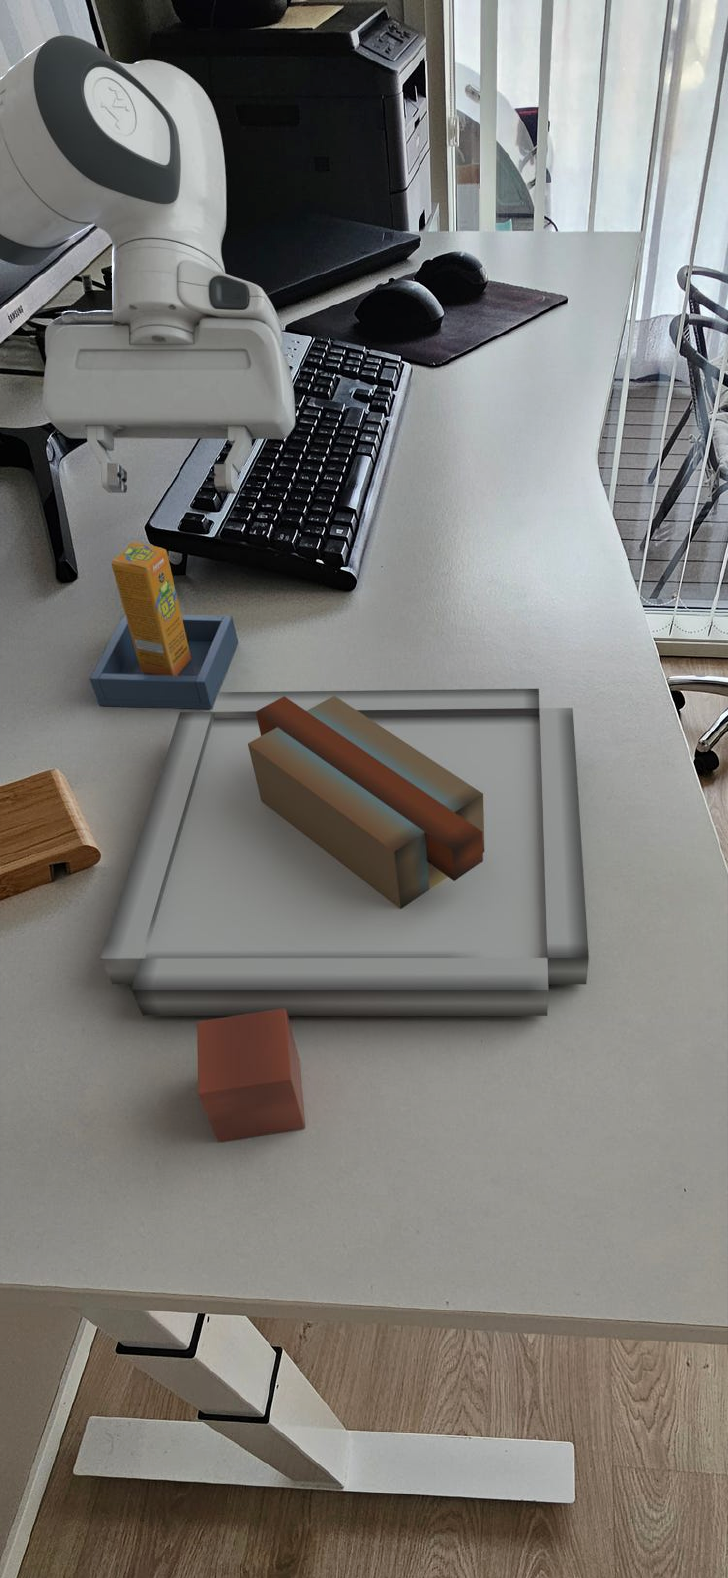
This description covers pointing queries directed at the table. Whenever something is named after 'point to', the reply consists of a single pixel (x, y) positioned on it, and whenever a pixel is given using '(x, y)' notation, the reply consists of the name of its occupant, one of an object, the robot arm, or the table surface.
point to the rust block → (250, 1075)
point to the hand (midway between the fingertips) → (169, 490)
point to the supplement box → (152, 609)
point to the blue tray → (192, 688)
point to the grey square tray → (358, 858)
